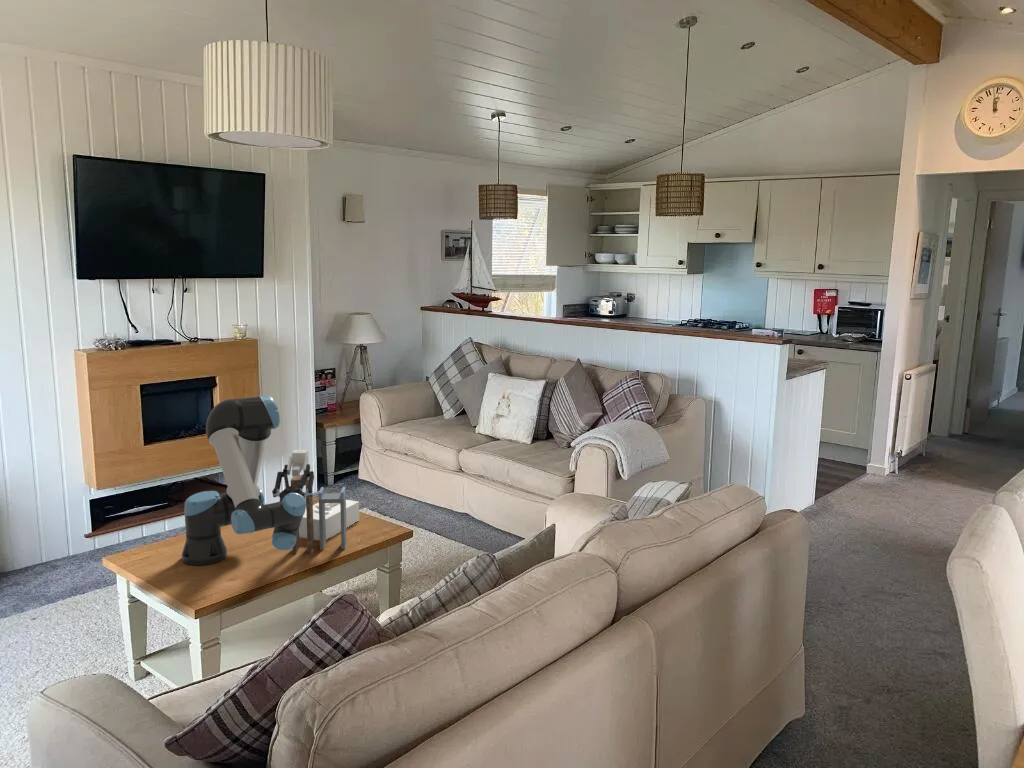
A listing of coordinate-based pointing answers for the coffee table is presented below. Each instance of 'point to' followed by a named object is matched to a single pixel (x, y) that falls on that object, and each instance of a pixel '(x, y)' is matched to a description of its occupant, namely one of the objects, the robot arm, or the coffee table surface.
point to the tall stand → (309, 512)
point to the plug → (298, 461)
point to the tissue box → (330, 519)
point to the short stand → (322, 500)
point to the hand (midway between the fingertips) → (298, 459)
